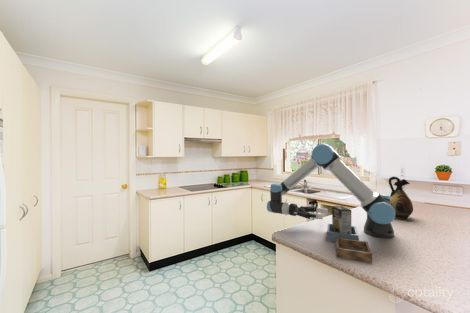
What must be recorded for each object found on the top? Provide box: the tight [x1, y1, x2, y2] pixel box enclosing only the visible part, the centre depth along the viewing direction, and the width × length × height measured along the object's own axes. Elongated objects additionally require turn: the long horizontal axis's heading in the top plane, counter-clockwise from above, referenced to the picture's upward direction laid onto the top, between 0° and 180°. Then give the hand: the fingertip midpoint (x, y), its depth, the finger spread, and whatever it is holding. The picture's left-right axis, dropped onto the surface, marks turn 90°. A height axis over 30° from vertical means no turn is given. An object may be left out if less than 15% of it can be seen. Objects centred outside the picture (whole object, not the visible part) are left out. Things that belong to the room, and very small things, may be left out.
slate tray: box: [326, 223, 360, 243], centre depth 122 cm, size 15×15×5 cm
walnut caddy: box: [335, 238, 373, 264], centre depth 103 cm, size 14×14×4 cm
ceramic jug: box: [388, 176, 414, 220], centre depth 158 cm, size 17×15×30 cm
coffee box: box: [331, 205, 352, 234], centre depth 122 cm, size 9×6×16 cm
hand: (325, 214), depth 127 cm, fingers open, 13 cm apart
